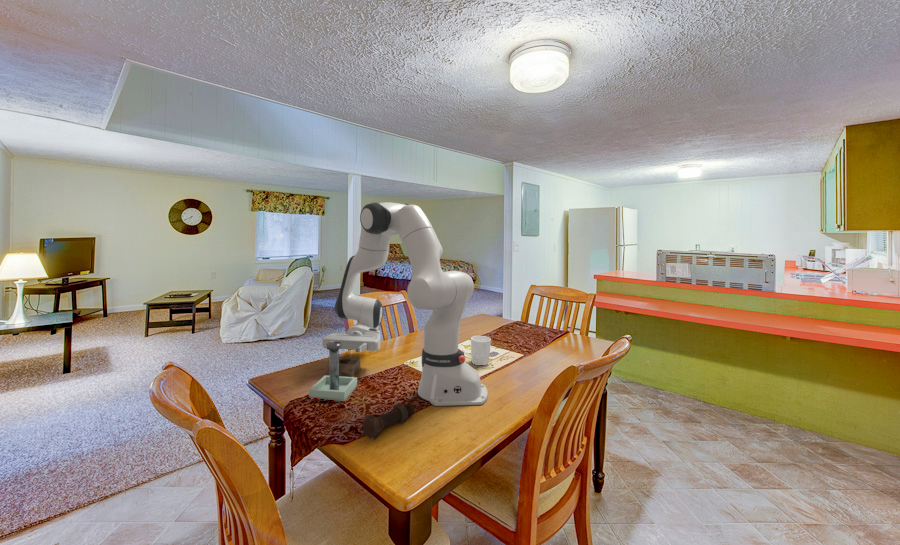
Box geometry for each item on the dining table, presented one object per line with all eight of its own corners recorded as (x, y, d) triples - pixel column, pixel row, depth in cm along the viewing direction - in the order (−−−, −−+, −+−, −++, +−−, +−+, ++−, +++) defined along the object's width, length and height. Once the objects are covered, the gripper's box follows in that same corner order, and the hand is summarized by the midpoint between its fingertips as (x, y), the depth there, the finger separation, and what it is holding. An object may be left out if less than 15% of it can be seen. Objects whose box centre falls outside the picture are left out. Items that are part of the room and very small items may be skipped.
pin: (343, 387, 114) (343, 342, 112) (338, 393, 110) (338, 346, 108) (330, 386, 115) (330, 341, 113) (324, 392, 110) (324, 345, 108)
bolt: (412, 421, 100) (370, 443, 88) (402, 408, 103) (359, 427, 91) (421, 408, 98) (378, 428, 86) (410, 394, 100) (367, 412, 89)
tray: (357, 386, 117) (357, 377, 117) (344, 401, 106) (344, 392, 106) (324, 383, 118) (324, 375, 118) (309, 399, 107) (309, 389, 107)
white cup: (490, 367, 137) (491, 342, 136) (470, 366, 137) (471, 341, 136) (488, 359, 145) (490, 335, 144) (469, 359, 145) (470, 335, 144)
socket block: (360, 368, 132) (360, 357, 132) (351, 377, 124) (351, 366, 123) (336, 366, 133) (336, 356, 133) (326, 376, 124) (326, 365, 124)
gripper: (331, 327, 134) (314, 338, 120) (384, 330, 132) (373, 341, 119) (331, 343, 135) (314, 356, 121) (384, 346, 133) (373, 360, 119)
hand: (344, 349), depth 120 cm, fingers open, 8 cm apart
